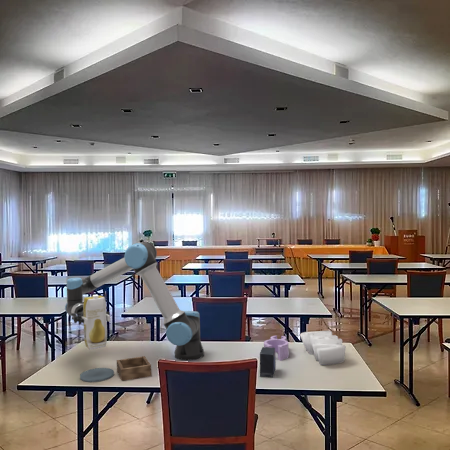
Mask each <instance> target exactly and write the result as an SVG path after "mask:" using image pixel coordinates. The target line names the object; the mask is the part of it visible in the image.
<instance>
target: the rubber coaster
mask: <svg viewBox="0 0 450 450" xmlns="http://www.w3.org/2000/svg"><path fill="white" fill-rule="evenodd" d="M114 375H115V370H114V369H113V368H109V367H96V368H90V369H87V370H85V371H83V372H81V373H80V375H79V379H80V380H81V381H83V382H86V383H98V382H103V381H107V380H110V379H111V378H113V377H114Z"/></svg>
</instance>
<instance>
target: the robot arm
mask: <svg viewBox="0 0 450 450" xmlns="http://www.w3.org/2000/svg"><path fill="white" fill-rule="evenodd" d="M157 251H158V250H157V247H156V246H155V245H154V244H152V243H151V242H147V241H144V242H136V243H134V244H131V245H129V247H127V248H126V250H125V252H124V256H123V257H122V258H121V259H119V260H117V261H115V262H113V263H111V264H109V265H108V266H105V267H104V268H102V269H100V270H98V271H96V272H95V273H92V274H91V275H89V276H87V277H85V278H83V279H82V278H81V277H70V278H68V279H66V287H65V288H66V301H67V302H66V304H65V305H64V309H65V312H66V314H67V315H68V316H69V317H71V320H73V324H77V323H78V325H82V324H83V325H84V324H85V325H88V319H87V318H85V317H83V303H84V296H83V295H84V294H85V295H86V294H87V293H90V292H93V291H94V290H96V289H98V288H99V287H101V286H103V285H105V284H107V283H109V282H111V281H113V280H114V279H117V278H119V277H120V276H123V275H125V274H126V273H127V272H130V271H132V270H133V271H134V273H135V275H136V276H140V277H141V280H142V281H143V284H144V285H145V286H146V288H147V290H148V291H149V294H150V295H151V297H152V299H153V301H154V302H155V304H156V306H157V308H158V310H159V312H160V313H161V315H162V317H163V323H162V324H163V326H164V327H165V329H166V332H165V336H166V339H167V340H168V341H169V343H171V344H172V345H175V350H174V358H175V359H177V360H181V361H195V360H199V359H201V358H203V357H204V356H205V351H204V347H203V345H202V342H201V321H200V319H201V317H200V312H199V311H196V310H195V311H194V310H181V309H180V308H179V306H178V304H177V303H176V301H175V299H174V297H173V295H172V294H171V292H170V289H169V288H168V286H167V284H166V282H165V281H164V279H163V277H162V275H161V274H160V271H159V270H158V268H157V265H158V262H157V259H156V258H157V257H158V252H157ZM110 313H111V312H110V311H107V310H106V319H107V322H109V323H110V322H111V314H110Z"/></svg>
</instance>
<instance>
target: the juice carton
mask: <svg viewBox="0 0 450 450" xmlns="http://www.w3.org/2000/svg"><path fill="white" fill-rule="evenodd" d="M106 301H107V300H106V298H105V296H102V295H98V294H93V295H92V296H89V297H88V296H87V297H86V296H84V297H83V317H85V318H87V319H88V325H85V324H83V340H84V344H85V345H84V346H85V347H87V348H88V350H94V349H95V350H96V349H101V348H105V347H107V342H108V341H107V339H108V328H107V327H108V325H107V322H108V321H107V319H106V311H107V302H106Z"/></svg>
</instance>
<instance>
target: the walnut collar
mask: <svg viewBox="0 0 450 450" xmlns="http://www.w3.org/2000/svg"><path fill="white" fill-rule="evenodd" d="M116 372H117V374H118V376H119V379H120V381H121V382H124V381H128V380H135V379H140V378H141V379H142V378H148V377H152V364H151V363H150V362H149V360H148V359H147V357H146V356H145V355H144V356H136V357H129V358H123V359H121V358H120V359H116Z"/></svg>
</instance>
